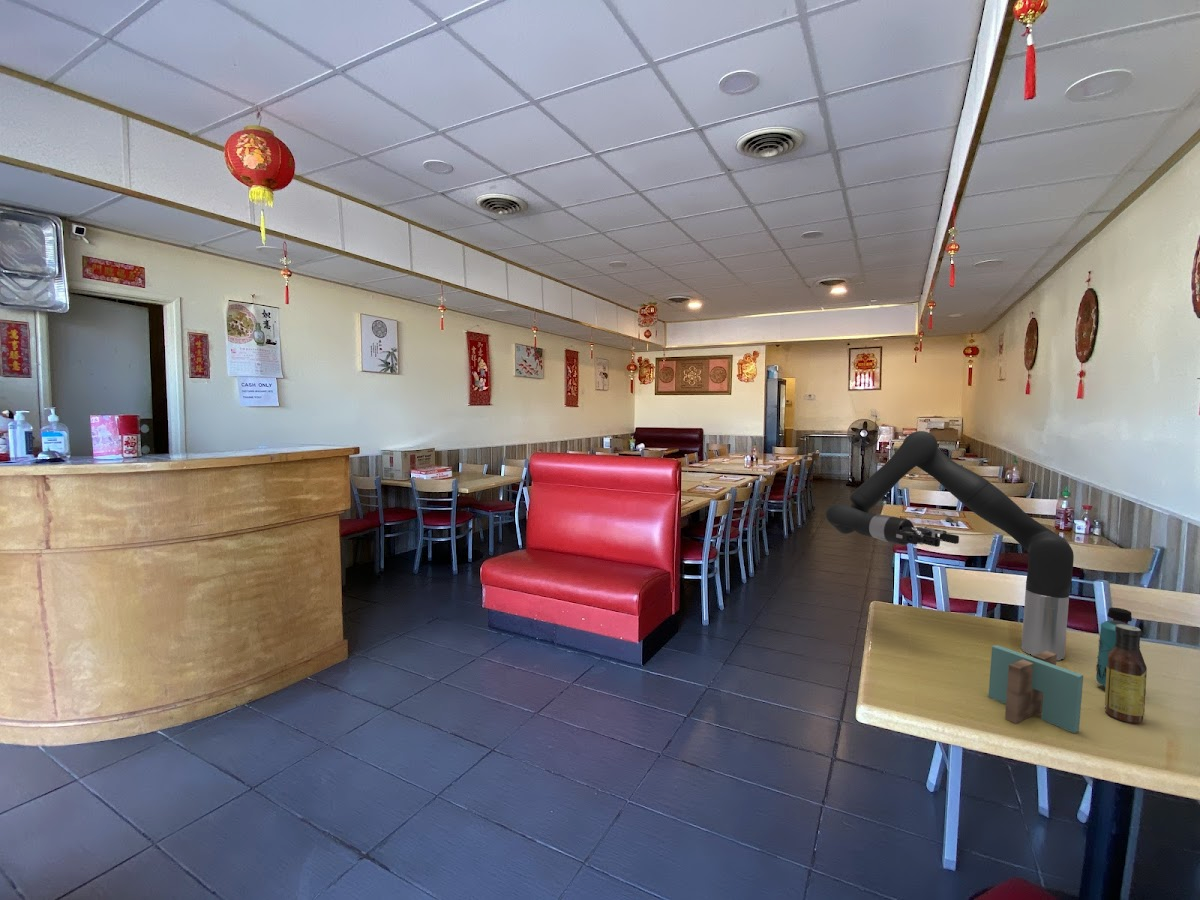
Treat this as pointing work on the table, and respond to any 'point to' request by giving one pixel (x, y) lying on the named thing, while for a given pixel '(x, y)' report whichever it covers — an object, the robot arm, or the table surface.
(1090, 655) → the table surface
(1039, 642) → the robot arm
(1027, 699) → the walnut slotted plate
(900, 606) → the table surface
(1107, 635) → the teal bottle
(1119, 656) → the sauce bottle
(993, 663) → the teal slotted plate
